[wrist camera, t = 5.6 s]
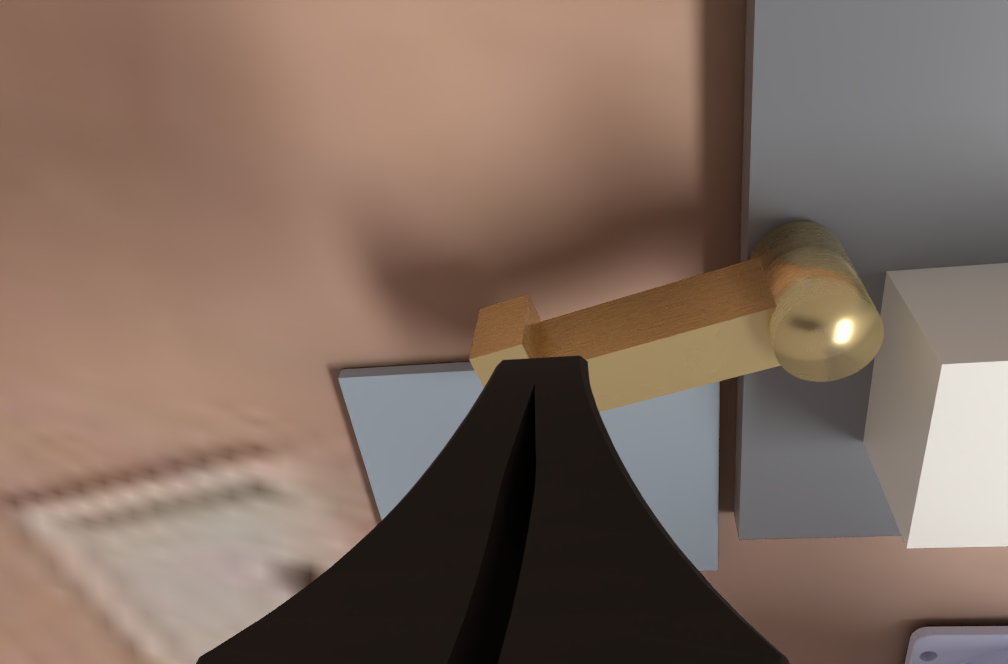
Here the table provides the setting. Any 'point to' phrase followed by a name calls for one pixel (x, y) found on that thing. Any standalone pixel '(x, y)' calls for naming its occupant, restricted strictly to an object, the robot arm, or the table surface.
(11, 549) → the table surface
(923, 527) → the white rectangular block
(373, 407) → the mat
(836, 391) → the base plate
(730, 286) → the brass T-key
